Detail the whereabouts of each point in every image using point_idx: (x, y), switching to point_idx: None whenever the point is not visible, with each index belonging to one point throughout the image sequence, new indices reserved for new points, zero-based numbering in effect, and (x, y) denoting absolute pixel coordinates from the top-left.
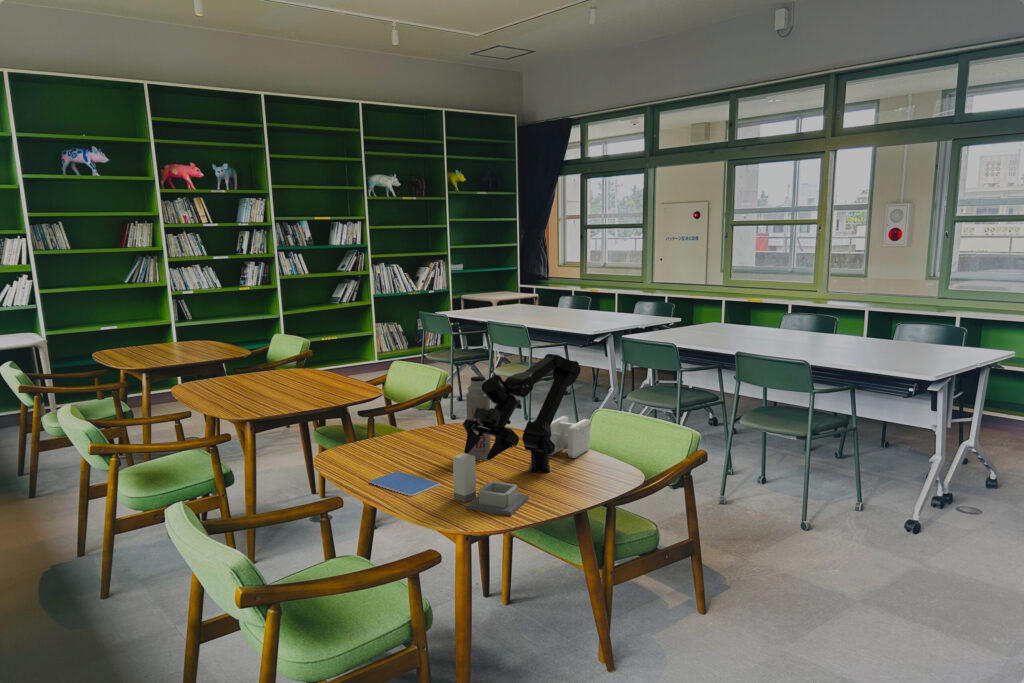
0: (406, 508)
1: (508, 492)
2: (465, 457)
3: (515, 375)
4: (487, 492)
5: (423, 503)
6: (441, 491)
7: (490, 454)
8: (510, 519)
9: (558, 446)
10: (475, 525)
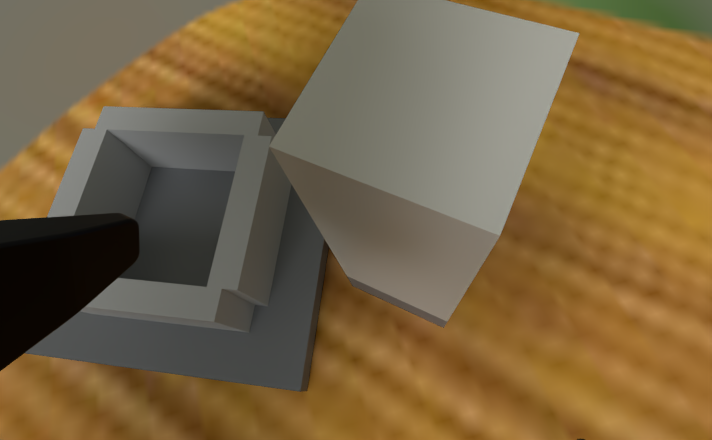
0: (654, 50)
1: (83, 151)
2: (388, 60)
3: None
4: (208, 115)
5: (612, 128)
6: (632, 338)
7: (39, 221)
8: (127, 97)
9: None
10: (258, 10)
